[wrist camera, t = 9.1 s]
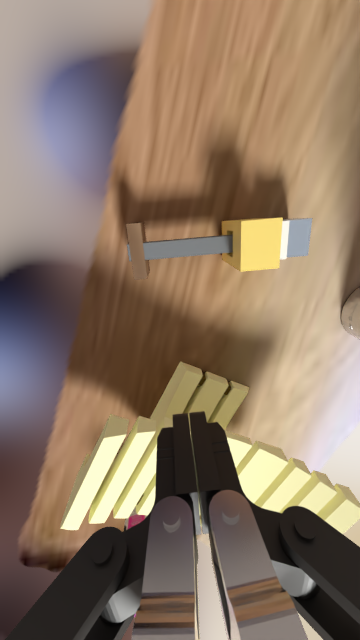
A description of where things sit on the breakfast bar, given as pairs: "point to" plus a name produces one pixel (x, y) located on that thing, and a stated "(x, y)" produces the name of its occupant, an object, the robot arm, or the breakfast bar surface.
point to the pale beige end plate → (284, 239)
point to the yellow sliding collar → (254, 243)
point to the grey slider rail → (187, 247)
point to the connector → (298, 237)
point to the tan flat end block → (138, 250)
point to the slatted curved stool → (219, 405)
